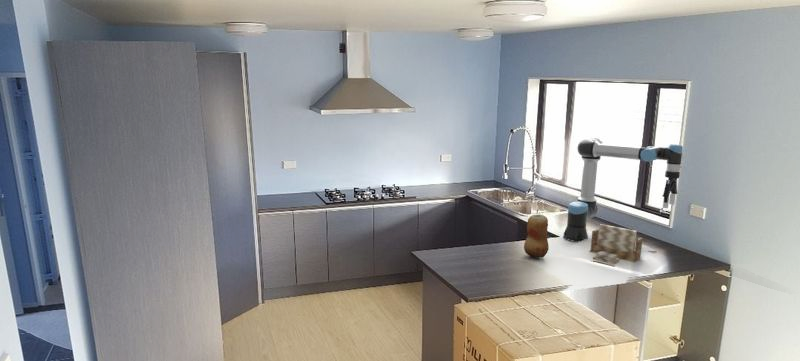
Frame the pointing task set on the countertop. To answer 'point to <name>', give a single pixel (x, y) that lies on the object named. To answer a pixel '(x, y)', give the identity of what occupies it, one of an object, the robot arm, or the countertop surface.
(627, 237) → the patterned board
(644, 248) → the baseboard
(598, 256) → the grey mdf offcut
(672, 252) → the countertop surface
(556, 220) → the countertop surface
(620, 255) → the oak rack
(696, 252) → the countertop surface
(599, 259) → the grey textured block
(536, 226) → the butternut squash
